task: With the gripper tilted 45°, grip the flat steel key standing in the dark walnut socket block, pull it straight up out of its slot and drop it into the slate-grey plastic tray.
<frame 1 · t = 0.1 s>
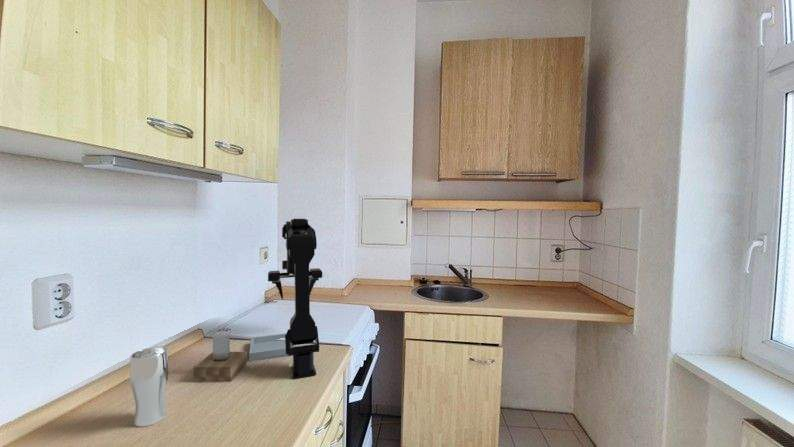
hand: (295, 297, 122), 15 cm above the counter, tool pointing down, fingers open, 9 cm apart
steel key: (221, 353, 96), in the key socket
key socket: (221, 372, 96), on the counter
key tray: (273, 349, 112), on the counter
beer glass: (150, 419, 75), on the counter
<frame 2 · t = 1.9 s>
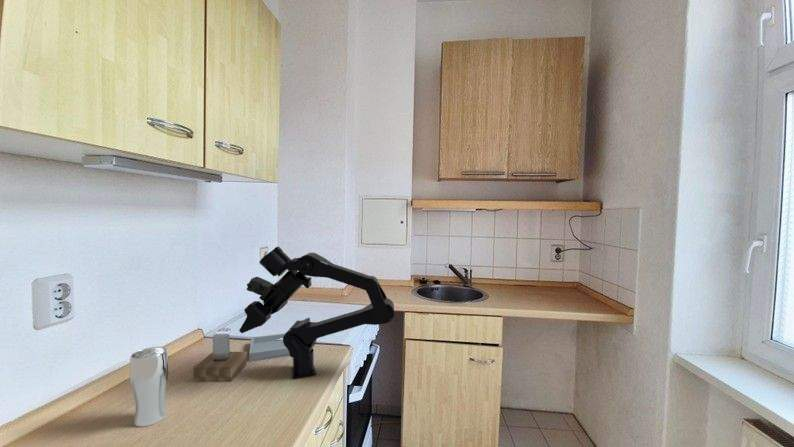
hand: (247, 326, 95), 13 cm above the counter, tool tilted 45°, fingers open, 9 cm apart
nothing on the counter moved.
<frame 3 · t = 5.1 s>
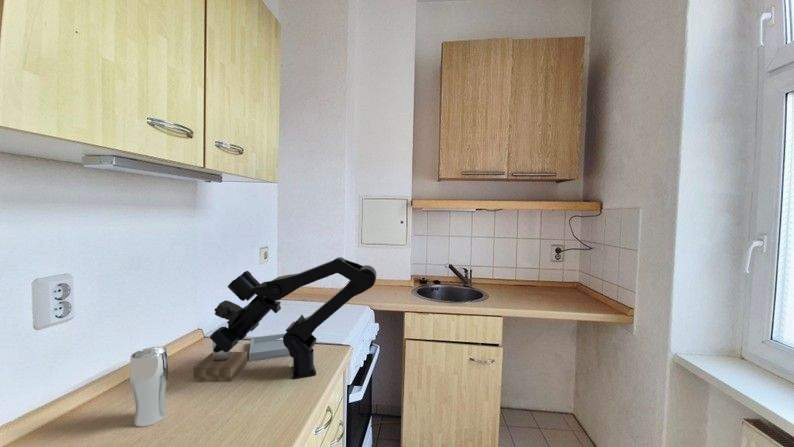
hand: (216, 350, 95), 7 cm above the counter, tool tilted 45°, fingers closed on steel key, 2 cm apart
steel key: (221, 353, 96), in the key socket, touching gripper
everything else where it was.
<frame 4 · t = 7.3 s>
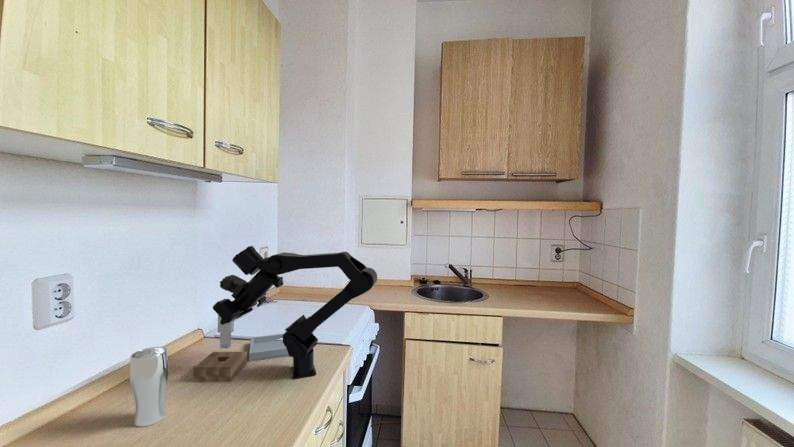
hand: (223, 322, 98), 14 cm above the counter, tool tilted 45°, fingers closed on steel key, 2 cm apart
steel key: (225, 328, 98), point 12 cm above the counter, touching gripper
everything else where it was.
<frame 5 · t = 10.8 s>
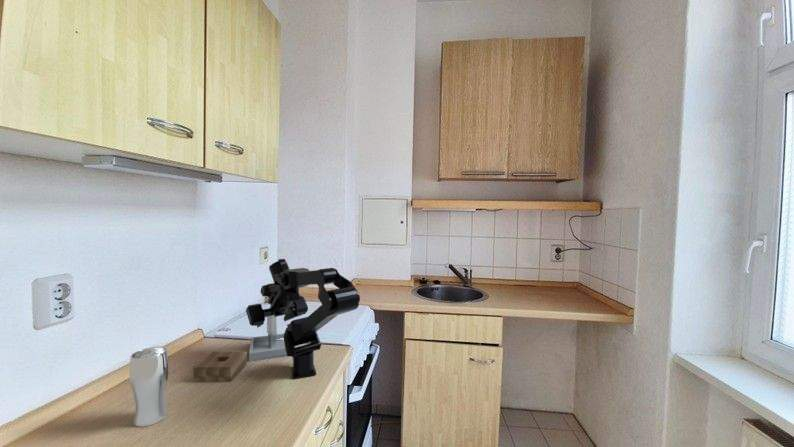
hand: (271, 323, 113), 9 cm above the counter, tool tilted 45°, fingers open, 9 cm apart
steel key: (271, 330, 112), in the key tray, point 6 cm above the counter
everything else where it was.
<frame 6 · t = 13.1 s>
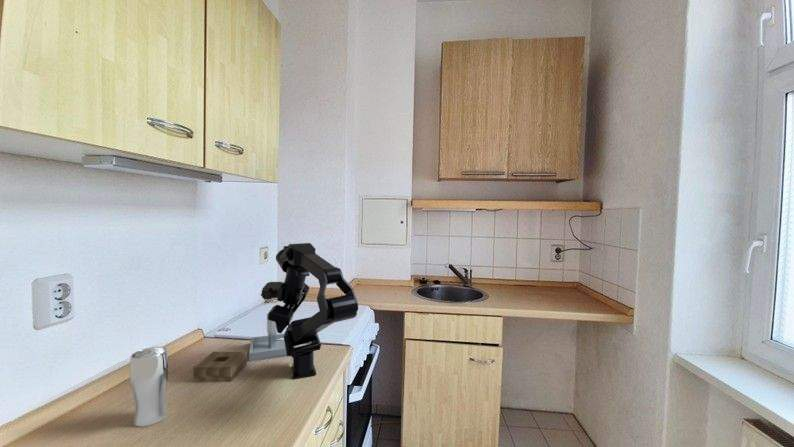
hand: (285, 323, 104), 11 cm above the counter, tool tilted 25°, fingers open, 9 cm apart
nothing on the counter moved.
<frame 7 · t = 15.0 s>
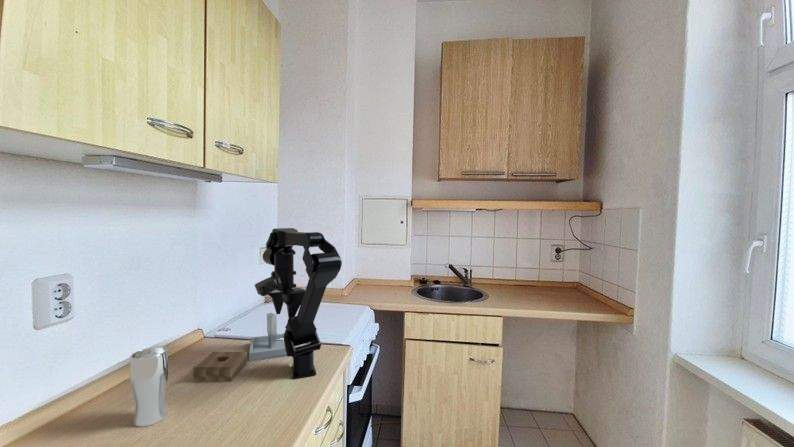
hand: (284, 317, 105), 13 cm above the counter, tool pointing down, fingers open, 9 cm apart
nothing on the counter moved.
at the end: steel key inside the target area on the key tray (1.0 cm from its centre), point 6.1 cm above the key tray's base; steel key touching key tray; the gripper is holding nothing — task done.
